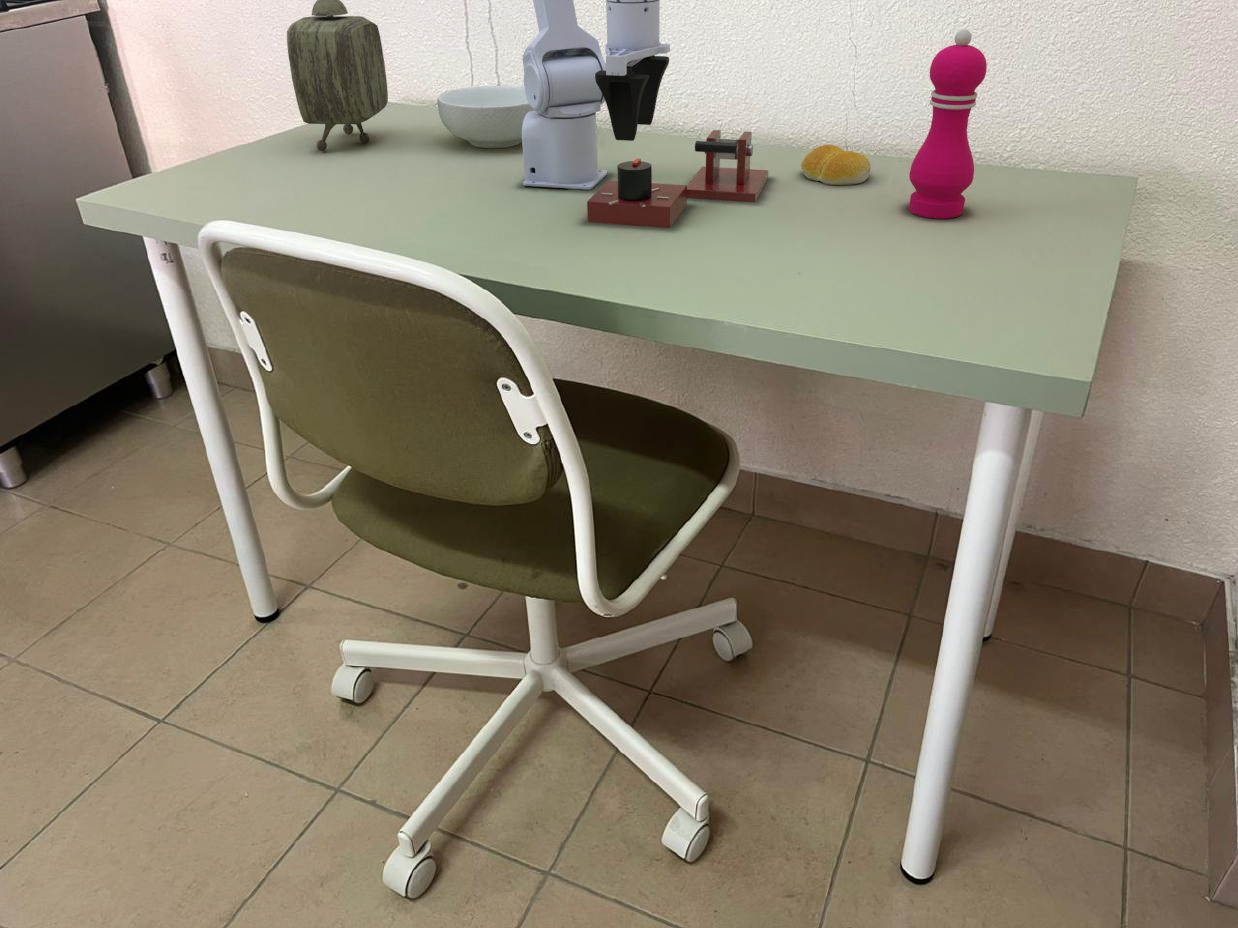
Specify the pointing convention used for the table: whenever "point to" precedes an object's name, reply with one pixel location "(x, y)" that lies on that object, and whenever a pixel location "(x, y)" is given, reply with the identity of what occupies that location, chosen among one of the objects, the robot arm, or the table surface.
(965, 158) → the pepper mill
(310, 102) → the tabletop clock
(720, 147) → the toaster lever
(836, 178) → the bread roll
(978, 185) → the table surface
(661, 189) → the panel
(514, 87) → the cereal bowl
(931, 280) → the table surface
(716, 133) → the red lever base
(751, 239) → the table surface
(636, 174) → the knob
